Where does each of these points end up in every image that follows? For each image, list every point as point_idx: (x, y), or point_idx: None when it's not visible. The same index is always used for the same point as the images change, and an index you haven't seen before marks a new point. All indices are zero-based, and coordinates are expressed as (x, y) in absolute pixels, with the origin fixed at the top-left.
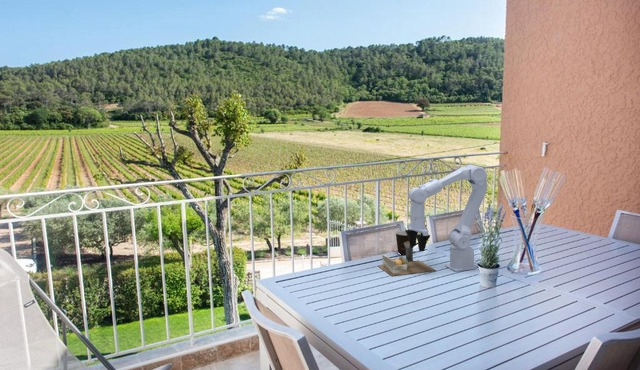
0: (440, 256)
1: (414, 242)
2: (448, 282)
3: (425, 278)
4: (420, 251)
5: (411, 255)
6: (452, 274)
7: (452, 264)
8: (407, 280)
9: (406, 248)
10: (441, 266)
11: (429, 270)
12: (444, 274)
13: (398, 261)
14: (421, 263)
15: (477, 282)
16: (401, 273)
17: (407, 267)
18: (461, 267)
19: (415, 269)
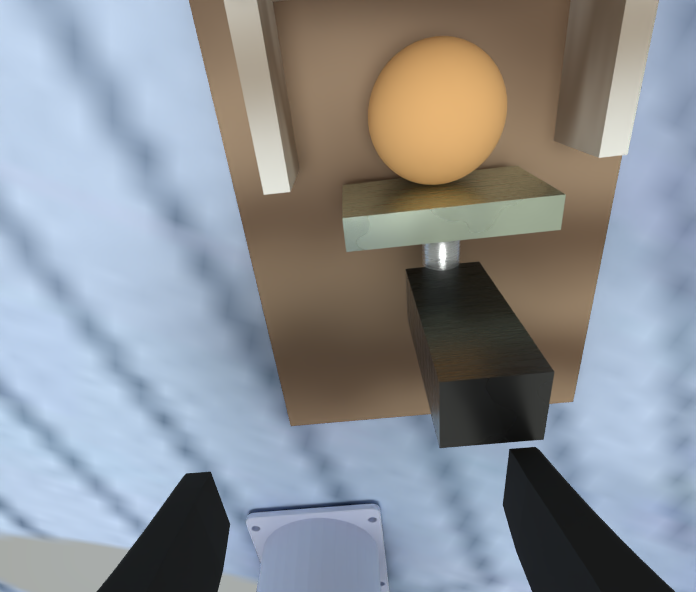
0: None
1: (532, 563)
2: (15, 404)
3: (107, 284)
4: (182, 479)
5: (418, 346)
6: None
7: (296, 547)
8: (31, 79)
9: (519, 359)
10: (384, 481)
11: (284, 382)
12: (203, 441)
13: (398, 117)
14: None
15: (37, 534)
16: (233, 85)
17: None
18: (261, 562)
19: (337, 287)
